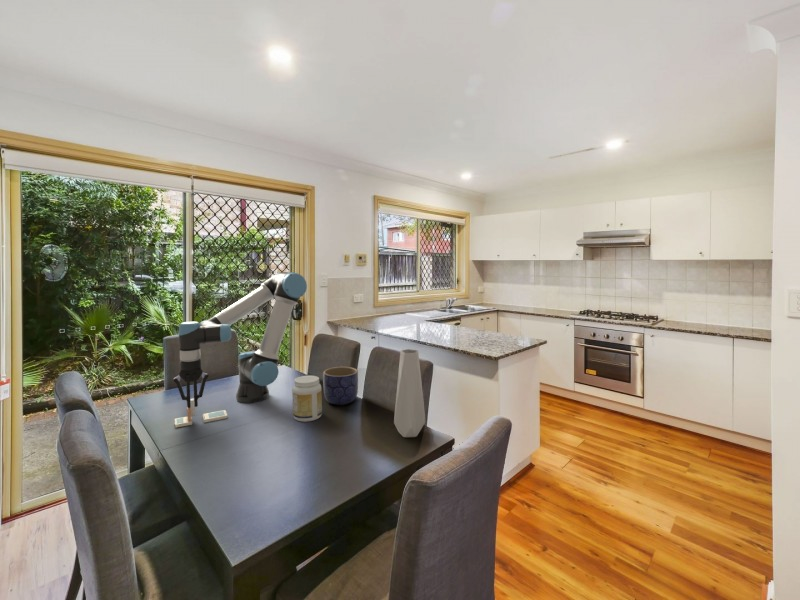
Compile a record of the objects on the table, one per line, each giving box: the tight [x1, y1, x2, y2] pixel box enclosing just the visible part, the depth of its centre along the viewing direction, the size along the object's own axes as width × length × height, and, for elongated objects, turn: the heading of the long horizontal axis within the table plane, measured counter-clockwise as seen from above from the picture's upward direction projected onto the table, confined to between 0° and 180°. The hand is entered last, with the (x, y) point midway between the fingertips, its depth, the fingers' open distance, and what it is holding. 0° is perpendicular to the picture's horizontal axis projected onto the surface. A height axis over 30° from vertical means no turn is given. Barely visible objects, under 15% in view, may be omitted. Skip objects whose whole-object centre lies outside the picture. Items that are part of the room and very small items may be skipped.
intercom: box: [174, 406, 193, 429], centre depth 155 cm, size 6×7×6 cm
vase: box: [393, 348, 426, 438], centre depth 145 cm, size 12×12×33 cm
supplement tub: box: [291, 375, 323, 423], centre depth 162 cm, size 12×12×17 cm
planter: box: [322, 366, 359, 406], centre depth 180 cm, size 17×16×15 cm
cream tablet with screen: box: [202, 409, 228, 423], centre depth 161 cm, size 9×7×1 cm
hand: (192, 414), depth 157 cm, fingers closed
